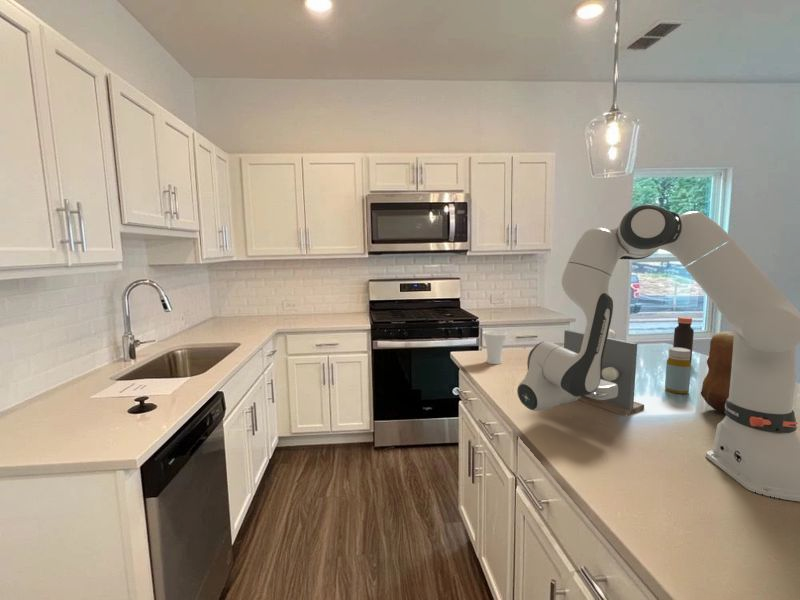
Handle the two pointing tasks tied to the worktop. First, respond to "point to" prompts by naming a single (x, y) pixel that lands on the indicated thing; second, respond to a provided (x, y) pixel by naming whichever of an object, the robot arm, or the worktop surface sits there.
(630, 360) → the button panel
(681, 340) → the vinegar
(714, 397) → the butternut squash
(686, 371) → the bottle
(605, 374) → the cream button
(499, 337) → the cup
